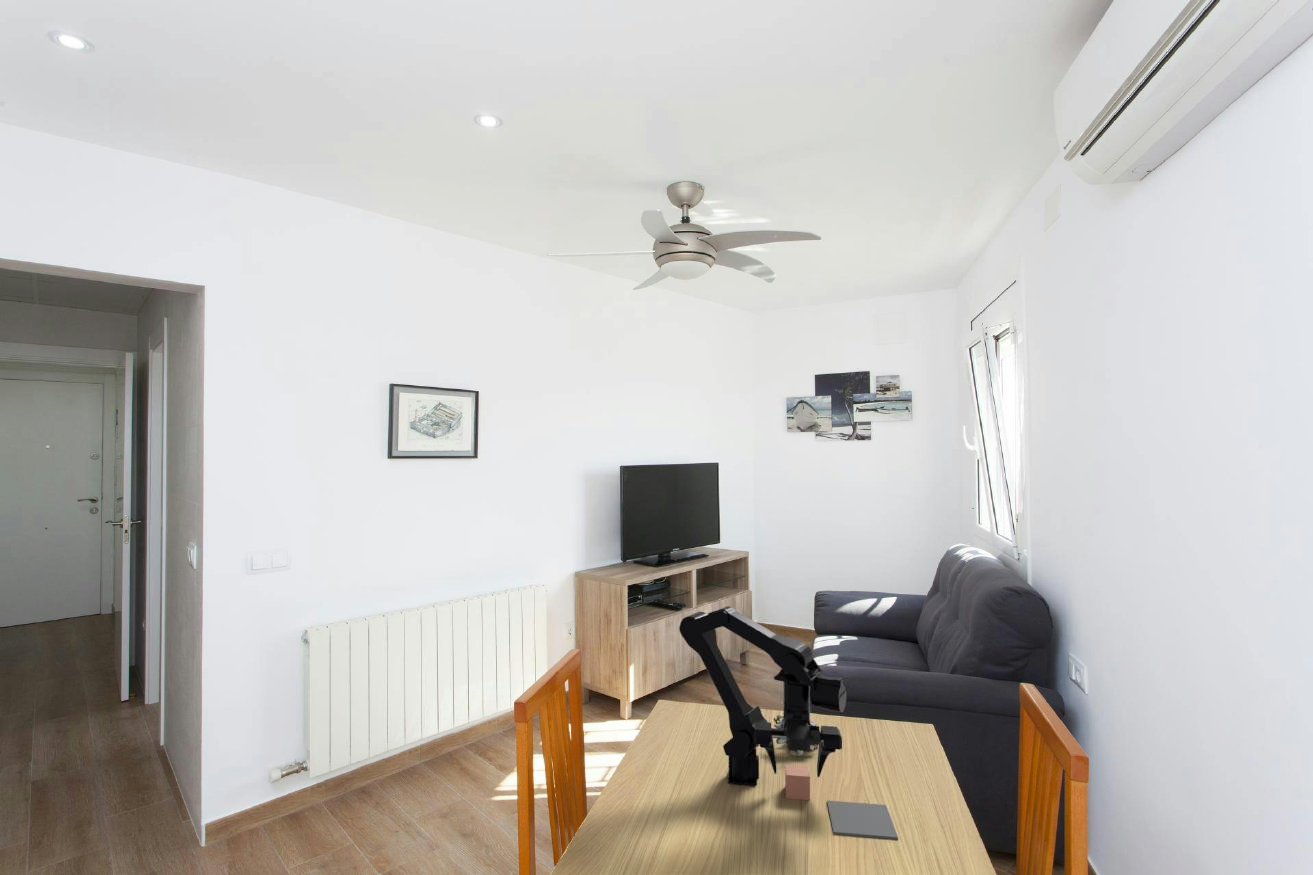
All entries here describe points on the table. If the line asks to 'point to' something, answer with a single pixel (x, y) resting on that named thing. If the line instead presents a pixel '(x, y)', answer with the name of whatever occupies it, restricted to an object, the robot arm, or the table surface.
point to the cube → (797, 782)
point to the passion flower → (780, 740)
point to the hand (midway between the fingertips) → (796, 774)
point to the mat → (861, 819)
